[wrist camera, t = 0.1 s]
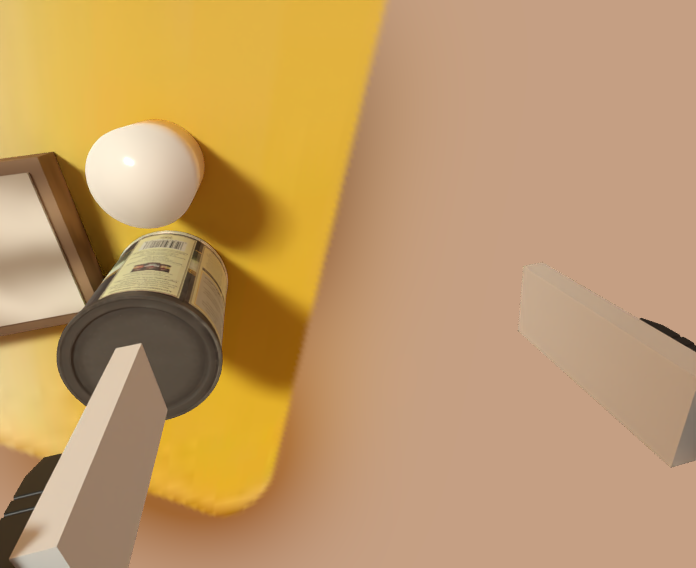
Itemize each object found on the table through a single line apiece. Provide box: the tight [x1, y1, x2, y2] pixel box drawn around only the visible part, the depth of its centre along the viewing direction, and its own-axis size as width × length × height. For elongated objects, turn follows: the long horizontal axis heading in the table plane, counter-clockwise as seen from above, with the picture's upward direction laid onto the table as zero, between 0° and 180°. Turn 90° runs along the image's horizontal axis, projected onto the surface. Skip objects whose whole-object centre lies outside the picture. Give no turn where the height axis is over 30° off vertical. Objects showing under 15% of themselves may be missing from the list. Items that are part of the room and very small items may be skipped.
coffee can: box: [57, 231, 228, 420], centre depth 35 cm, size 10×10×14 cm
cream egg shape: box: [85, 119, 205, 228], centre depth 33 cm, size 7×7×8 cm
